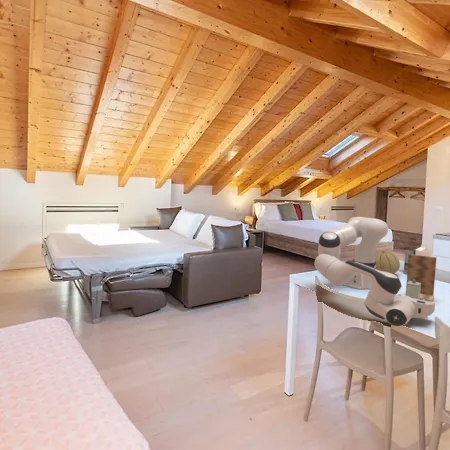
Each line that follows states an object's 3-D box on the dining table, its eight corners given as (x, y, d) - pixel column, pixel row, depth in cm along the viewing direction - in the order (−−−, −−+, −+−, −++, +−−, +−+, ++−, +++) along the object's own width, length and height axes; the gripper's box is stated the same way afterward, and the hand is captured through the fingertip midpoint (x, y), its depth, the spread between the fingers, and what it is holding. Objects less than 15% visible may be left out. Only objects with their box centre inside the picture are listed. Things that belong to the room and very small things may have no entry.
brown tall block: (402, 300, 171) (405, 257, 169) (408, 292, 184) (411, 252, 181) (430, 306, 164) (434, 261, 161) (436, 297, 176) (439, 255, 173)
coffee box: (413, 276, 217) (415, 251, 215) (403, 273, 221) (404, 249, 219) (419, 273, 223) (421, 249, 221) (409, 271, 227) (410, 247, 225)
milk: (417, 282, 202) (420, 245, 199) (413, 279, 208) (415, 244, 205) (428, 283, 201) (431, 246, 199) (423, 280, 207) (426, 244, 205)
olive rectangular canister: (405, 308, 161) (407, 279, 159) (407, 305, 165) (409, 277, 163) (417, 310, 158) (419, 281, 156) (419, 307, 162) (421, 279, 160)
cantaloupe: (399, 279, 210) (400, 254, 208) (373, 276, 216) (374, 252, 214) (398, 273, 223) (400, 250, 221) (374, 270, 229) (375, 248, 227)
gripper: (377, 308, 151) (385, 299, 162) (431, 319, 139) (436, 310, 150) (378, 294, 151) (386, 286, 161) (432, 304, 138) (437, 296, 149)
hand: (410, 298), depth 155 cm, fingers open, 8 cm apart
